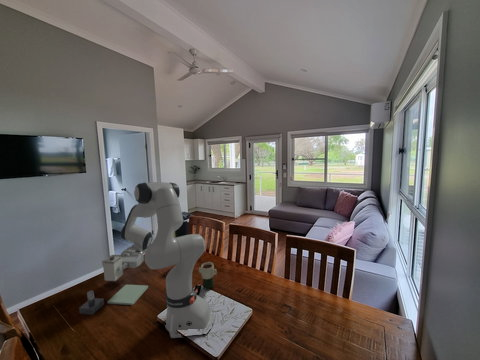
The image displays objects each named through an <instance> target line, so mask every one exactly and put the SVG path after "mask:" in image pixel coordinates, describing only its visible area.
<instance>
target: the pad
mask: <svg viewBox="0 0 480 360" xmlns="http://www.w3.org/2000/svg"><path fill="white" fill-rule="evenodd" d="M148 288H149V285H141V284H124V285H123V286H122V287H121V288H120V289H119V290H118V291H117V292H116V293H115V294H114V295H113V296H112V297H111V298H109V300H107V304H109V305H126V306H127V305H129V306H133V305H134V304H135V303H136V302H137V301H138V300H139V298H140V297H141V296H142V295H143V294H144V292H146V290H147V289H148Z"/></svg>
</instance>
